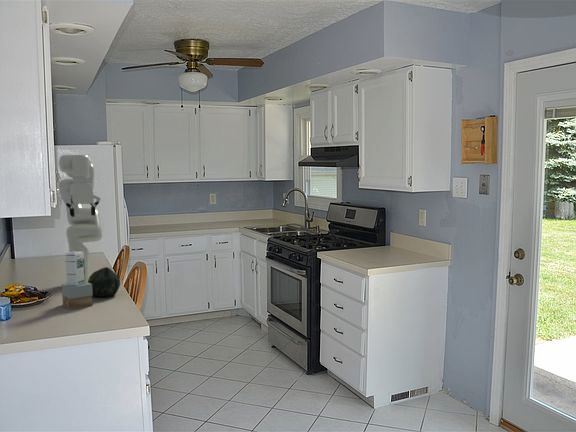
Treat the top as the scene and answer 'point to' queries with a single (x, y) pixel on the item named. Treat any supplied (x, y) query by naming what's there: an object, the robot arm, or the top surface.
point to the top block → (77, 290)
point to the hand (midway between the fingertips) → (83, 216)
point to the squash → (104, 282)
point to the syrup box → (75, 268)
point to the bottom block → (77, 302)
